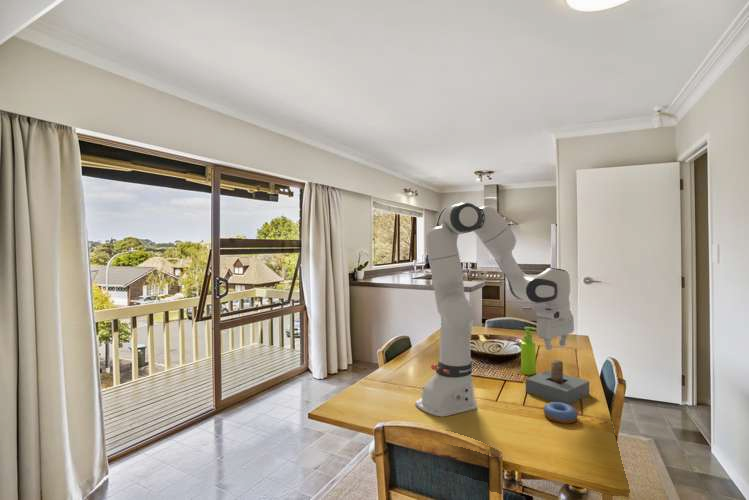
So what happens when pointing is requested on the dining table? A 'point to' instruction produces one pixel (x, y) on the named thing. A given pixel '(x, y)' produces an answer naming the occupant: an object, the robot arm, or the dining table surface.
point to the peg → (557, 371)
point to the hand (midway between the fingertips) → (555, 347)
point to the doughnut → (560, 412)
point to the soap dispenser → (528, 353)
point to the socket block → (557, 388)
